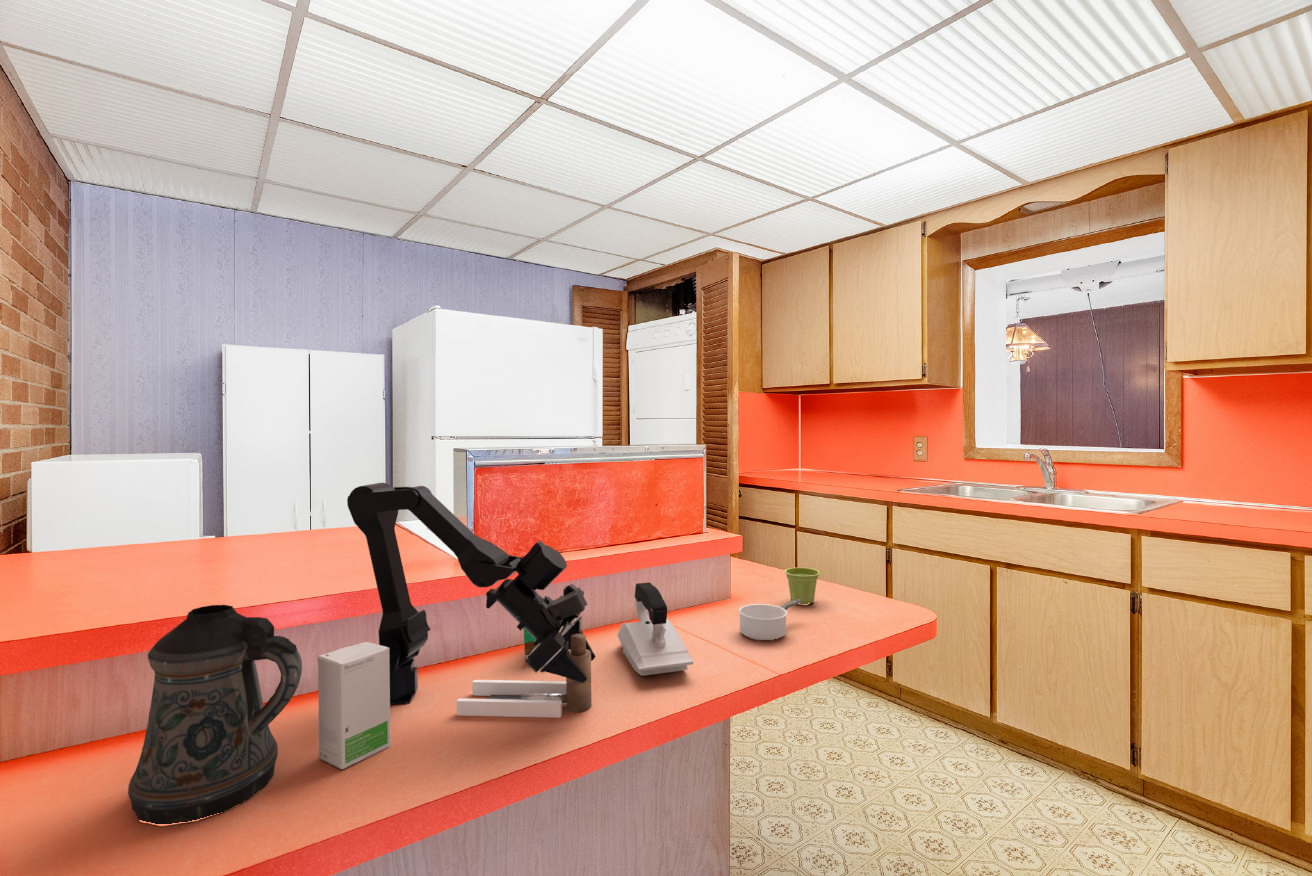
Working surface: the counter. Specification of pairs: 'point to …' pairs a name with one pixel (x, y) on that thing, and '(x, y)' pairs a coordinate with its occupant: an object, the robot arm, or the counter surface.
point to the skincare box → (353, 703)
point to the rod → (543, 696)
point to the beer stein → (210, 716)
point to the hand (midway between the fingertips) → (589, 669)
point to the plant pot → (802, 584)
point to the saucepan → (764, 620)
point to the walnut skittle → (577, 691)
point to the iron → (652, 636)
